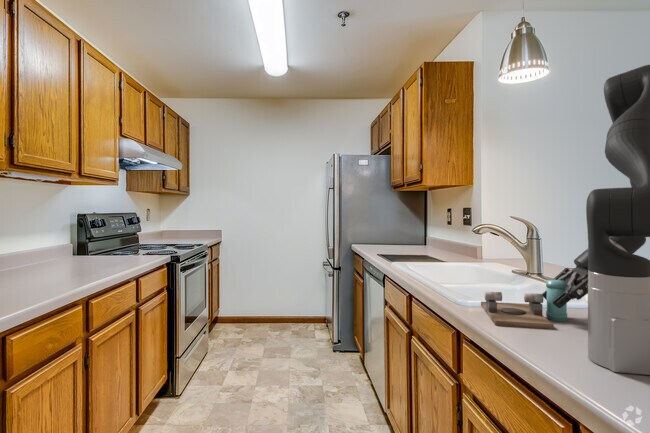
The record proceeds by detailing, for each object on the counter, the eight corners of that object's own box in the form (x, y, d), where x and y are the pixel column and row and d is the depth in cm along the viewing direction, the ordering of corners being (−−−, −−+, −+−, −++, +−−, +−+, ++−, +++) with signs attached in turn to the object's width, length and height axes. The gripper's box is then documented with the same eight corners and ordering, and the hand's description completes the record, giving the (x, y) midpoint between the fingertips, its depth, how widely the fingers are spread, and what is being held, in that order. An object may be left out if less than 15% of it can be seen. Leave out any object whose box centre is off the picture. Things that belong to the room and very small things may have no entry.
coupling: (570, 321, 88) (570, 283, 88) (550, 320, 89) (550, 282, 89) (562, 316, 93) (562, 279, 92) (543, 315, 94) (543, 279, 94)
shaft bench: (555, 329, 83) (555, 303, 83) (493, 325, 87) (492, 300, 86) (530, 308, 101) (530, 286, 100) (479, 305, 104) (479, 284, 104)
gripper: (576, 245, 96) (529, 285, 99) (604, 252, 82) (549, 298, 85) (598, 265, 95) (550, 304, 98) (630, 274, 81) (573, 320, 84)
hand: (549, 301), depth 91 cm, fingers open, 7 cm apart
